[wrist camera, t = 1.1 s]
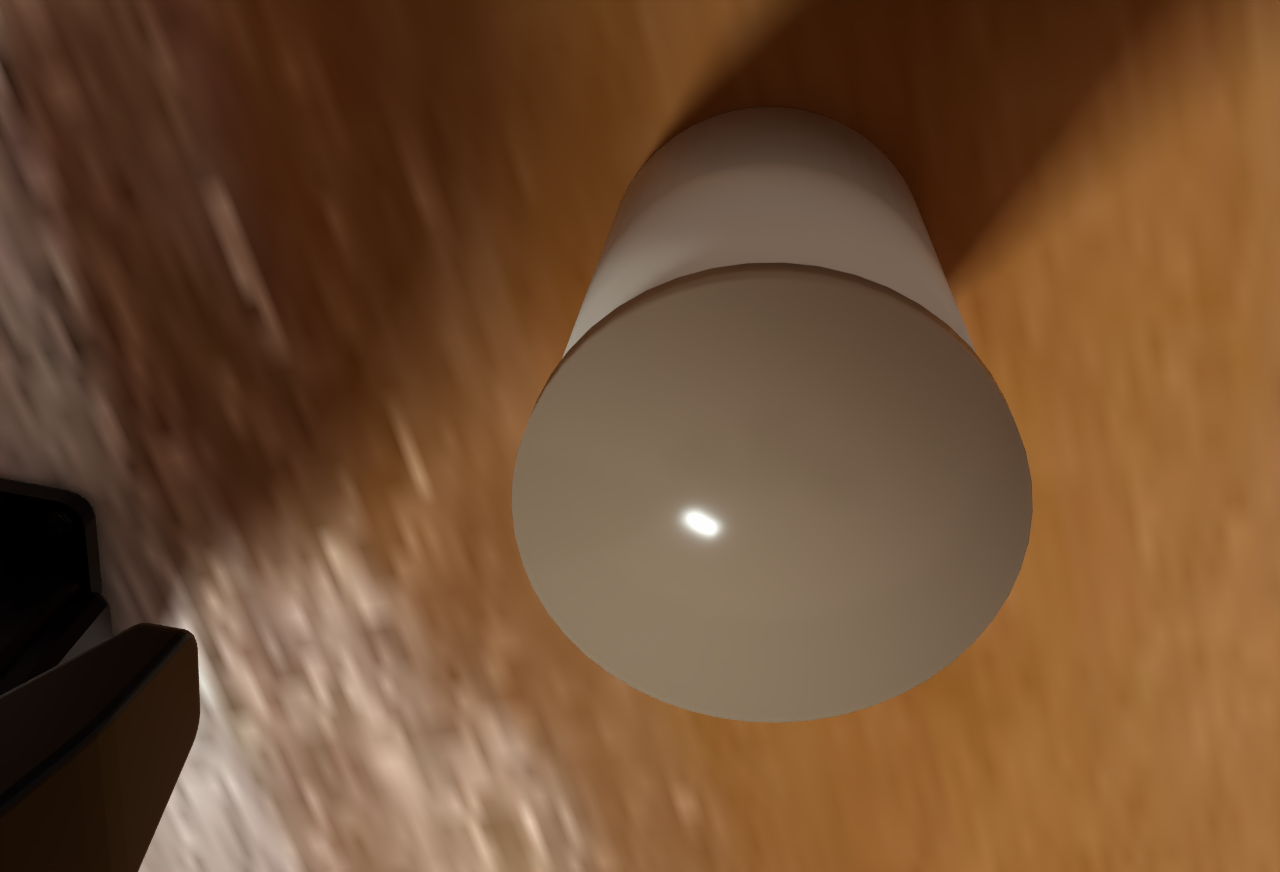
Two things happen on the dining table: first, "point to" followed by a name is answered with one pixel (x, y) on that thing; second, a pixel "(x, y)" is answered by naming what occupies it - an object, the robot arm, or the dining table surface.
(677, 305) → the cream jar
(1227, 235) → the dining table surface
